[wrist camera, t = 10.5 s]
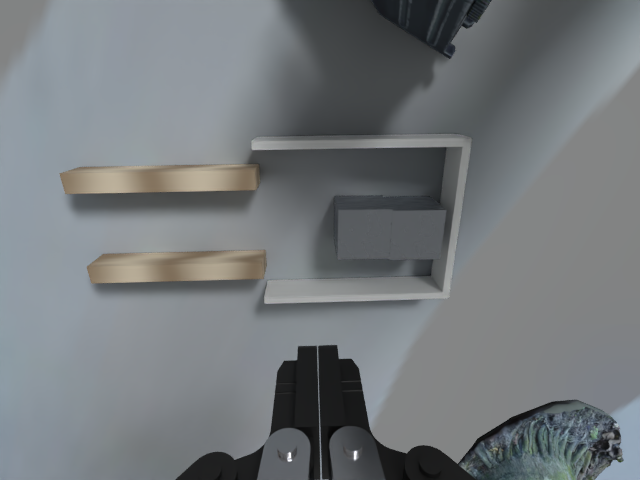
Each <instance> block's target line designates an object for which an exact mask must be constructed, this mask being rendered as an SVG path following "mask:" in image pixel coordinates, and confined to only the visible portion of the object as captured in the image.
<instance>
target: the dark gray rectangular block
mask: <svg viewBox="0 0 640 480" xmlns="http://www.w3.org/2000/svg"><path fill="white" fill-rule="evenodd" d="M392 214H393V209H392V208H391V206H390V205H389V204H388V202H387V201H386V200H385V198H384V197H383V196H382V195H375V196H335V202H334V243H335V248H336V254H337V259H338V260H343V259H389V252H390V239H391V227H392Z"/></svg>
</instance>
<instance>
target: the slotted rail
mask: <svg viewBox="0 0 640 480" xmlns="http://www.w3.org/2000/svg"><path fill="white" fill-rule="evenodd" d="M60 177H61V180H62V184H63V187H64V191H65V194H86V193H137V192H188V191H238V190H257V188H258V186H259V184H260V172H259V164H230V165H174V166H117V167H79V168H76V169H73V170H69V171H66V172H63V173H60ZM266 266H267V264H266V251H265V250H247V251H207V252H166V253H125V254H103V255H101V256H100V257H99V258H98V259H96V260H95V261H94V262H92V263H91V264H90V265H89V266H87V270H88V273H89V277H90V280H91V283H126V282H163V281H201V280H238V279H264V274H265V270H266Z"/></svg>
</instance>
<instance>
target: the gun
mask: <svg viewBox="0 0 640 480" xmlns="http://www.w3.org/2000/svg"><path fill="white" fill-rule="evenodd" d="M371 1H372V2H373V4H374V6H375V7H376V9H377V10H378V12H379V14H380V15H381V16H383V17H385V18H386V19H388V20H389V21H391V22H392V23H394V24H396V25H397V26H399V27H400V28H402V29H403V30H405V31H407V32H408V33H410V34H411V35H413V36H414V37H416V38H418V39H419V40H421V41H422V42H424V43H425V44H427V45H429V46H430V47H432V48H433V49H435V50H436V51H438V52H440V53H441V54H443V55H444V56H446V57H447V58H449V59H450V58H451V57H452V55H453V54H454V52H455V46H454V45H452V44H451V41H452V40H453V38H454V37H455V35H456V34H457V32H458V30H459V29H460V27H461V26H463V27H465V28H466V29H467V28H470V27H472V25H473V24H474V22H476V23H477V22H478V20H479V19H480V17H481V16H482V14H483V13H484V11H485V10H486V8H487V7H488V5H489V4H490V2H491V0H371Z"/></svg>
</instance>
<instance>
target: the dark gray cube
mask: <svg viewBox="0 0 640 480" xmlns="http://www.w3.org/2000/svg"><path fill="white" fill-rule="evenodd" d="M384 198H385V200H386V201H387V202H388V204H389V205H390V206H391V208H392V209H393V214H392V227H391V239H390V252H389V260H418V259H440V255H441V248H442V240H443V233H444V226H445V218H446V211H447V210H446V209H445V208H444V207H442V206H441V205H440V204H439V203H437V202H436V201H435V200H434V199H432V198H431V197H430V196H399V197H384Z"/></svg>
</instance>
